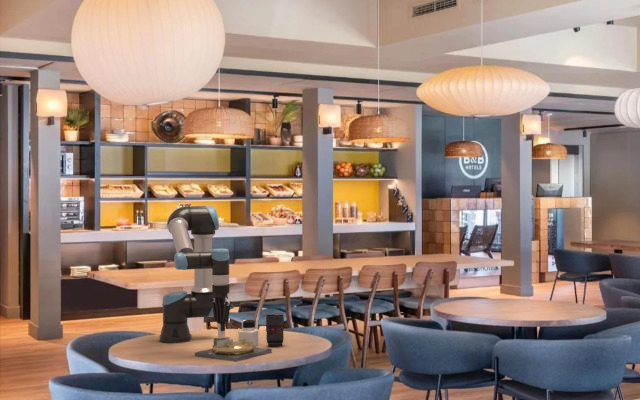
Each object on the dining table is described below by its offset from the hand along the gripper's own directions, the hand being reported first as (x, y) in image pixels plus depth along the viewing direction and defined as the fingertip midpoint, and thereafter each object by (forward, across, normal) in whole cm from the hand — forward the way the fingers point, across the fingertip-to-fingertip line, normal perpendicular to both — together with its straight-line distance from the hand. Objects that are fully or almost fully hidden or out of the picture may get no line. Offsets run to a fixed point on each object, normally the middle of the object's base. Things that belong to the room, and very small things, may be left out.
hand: (221, 337), depth 401 cm
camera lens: (+8, +3, -32) cm, 33 cm away
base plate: (+8, -1, -6) cm, 10 cm away
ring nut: (+6, -1, -6) cm, 9 cm away
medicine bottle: (+8, +12, -23) cm, 27 cm away
